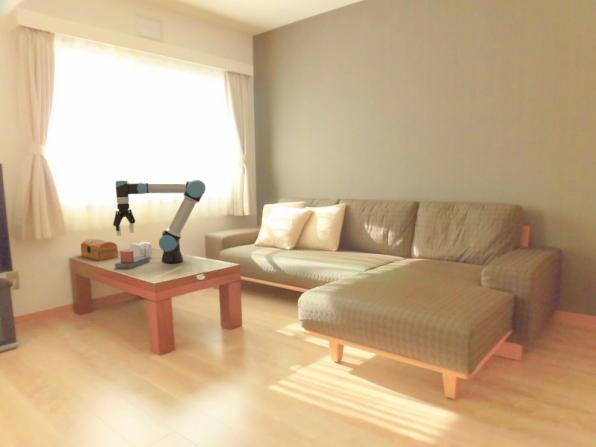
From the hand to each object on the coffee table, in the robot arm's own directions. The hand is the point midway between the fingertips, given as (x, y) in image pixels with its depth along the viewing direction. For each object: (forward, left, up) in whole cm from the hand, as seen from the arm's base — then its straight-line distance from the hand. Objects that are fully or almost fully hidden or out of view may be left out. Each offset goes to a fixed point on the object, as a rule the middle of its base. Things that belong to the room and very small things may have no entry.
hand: (125, 234), depth 284 cm
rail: (-6, 0, -23) cm, 24 cm away
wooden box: (-27, -46, -24) cm, 58 cm away
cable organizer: (-31, -10, -23) cm, 40 cm away
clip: (0, 0, -23) cm, 23 cm away
